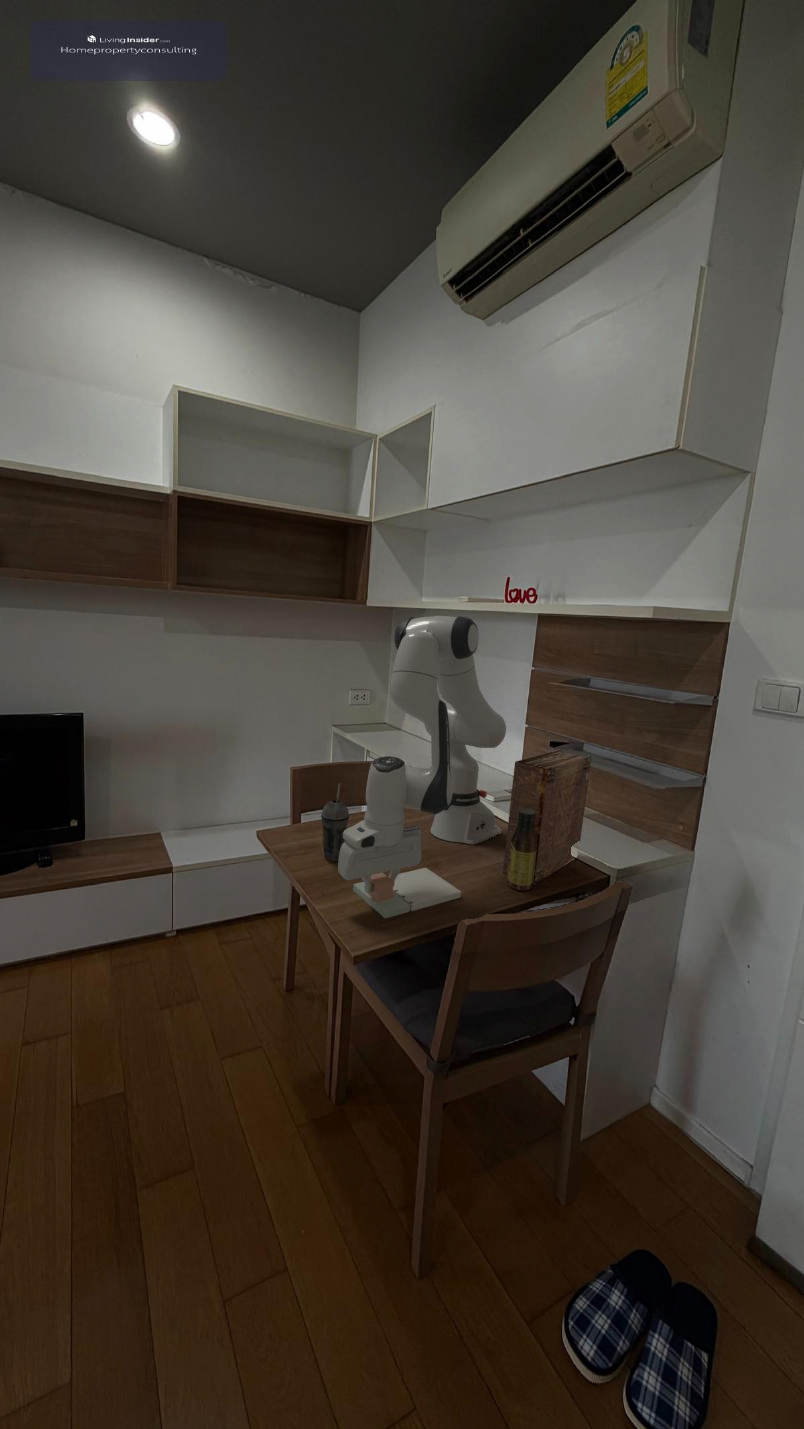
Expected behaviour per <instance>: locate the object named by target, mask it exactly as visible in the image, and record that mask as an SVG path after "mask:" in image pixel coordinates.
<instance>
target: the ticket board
mask: <svg viewBox="0 0 804 1429" xmlns="http://www.w3.org/2000/svg"><path fill="white" fill-rule="evenodd" d="M393 892H394V893H395V894H396V895H398V896H399V897H400V898H401V899H403V900H404V901H405V902H406V903H408V904H409V905H410V911H411V912H414V911H418V910H421V909H424V908H428V907H431V906H435V905H439V904H442V903H445V902H449V901H452V900H457V899H460V898H461V897H462V891H461V890H460V889H458V888H456V887H455V886H454V885H453V884H451V883H449V882H448V881H447V880H445V879H444V878H441V877H440V876H439V875H438V874H436V873H435V872H434V871H432V870H430V869H429V868H427V867H422V868H417V869H414V870H410V871H405V872H401V873H399V874H398V876H397V878H396V879H395V884H394V886H393Z"/></svg>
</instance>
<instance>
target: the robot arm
mask: <svg viewBox="0 0 804 1429" xmlns="http://www.w3.org/2000/svg"><path fill="white" fill-rule="evenodd" d="M398 623H399V624H398V625H397V626H396V628H395V631H394V638H393V639H394V646H395V648H396V650H397V651H396V654H395V659H394V662H393V667H392V671H391V678H390V686H389V687H390V689H389V690H390V697H391V700H392V701H393V703H394V705H396V706H397V708H399V709H400V710H401V711H402V712H404V713H406V714H408V715H409V716H410V717H412V718H414V719H416V720H418V721H420V722H421V723H423V724H424V729H425V730H426V732H427V733H428V734H429V736H430V740H431V741H430V744H431V745H430V746H431V748H430V749H431V752H430V753H431V767H429V768H423V767H417V766H408V765H407V764H406V763H405V761H404V760H403V759H402V758H399V757H397V756H389V755H387V756H386V755H385V756H380V757H377V758H375V759H374V760H372V762H371V763H370V766H369V771H368V777H367V782H366V790H365V803H366V810H365V812H364V818H363V820H361V821H359V822H358V823H356V824H354V825H352V826H350V827H347V828H346V830H345V831H344V832H343V838H344V843H343V844H342V846H341V849H340V853H339V861H337V862H338V863H337V871H338V874H339V875H340V876H341V877H342V878H343V879H344V880H346V881H352V880H355V879H360V878H361V880H362V882H364V883H365V887H364V889H365V891H366V892H367V893H369V892H373V891H374V884H372V883H371V882H369V880H368V879H371V875H374V874H378V873H386V872H390V873H389V874H388V876H387V877H389V878H390V879H391V880H393V881H394V884H395V879H396V878H397V876H398V874H401V873H400V872H401V869H404V868H409V867H413V866H417V865H418V864H419V863H420V862H421V861H422V840H421V839H422V829H421V828H420V826H417V825H416V824H412V825H408V826H405V814H404V808H406V809H411V810H416V811H417V810H418V811H421V812H424V813H427V814H431V815H434V818H433V821H432V825H431V827H430V829H429V831H430V833H431V835H433V836H434V837H436V838H438V839H441V840H444V841H448V842H453V843H464V844H468V845H477V844H479V843H482V842H484V841H487V840H489V838H490V839H492V838H491V837H493V838H494V836H495V835H498V834H500V833H502V834H503V831H502V829H501V828H500V826H498V825H496V819H495V818H496V817H495V814H494V812H493V811H492V809H490V808H489V807H488V806H486V804H485V803H483V802H482V801H481V798H483V799H485V798H486V797H487V796H488V792H487V791H485V790H482V789H480V790H479V789H478V780H479V764H478V762H477V761H476V759H475V758H474V757H473V756H472V755H471V754H470V753H469V751H468V749H467V747H466V746H469V747H475V748H479V749H495V748H497V747H499V745H500V744H502V742H503V741H504V739H505V737H506V734H507V725H506V721H505V720H504V718H503V716H502V715H500V714H499V713H498V712H497V711H495V710H494V709H493V708H492V707H491V705H489V703H488V701H487V700H486V698H485V697H484V695H483V693H482V692H481V688H480V687H479V682H478V677H477V671H476V664H475V659H474V653H476V651H477V649H478V645H479V639H480V638H479V636H480V634H479V629H478V626H477V624H476V623H475V622H474V621H473V619H472V618H469V617H466V616H452V615H451V616H450V615H434V616H423V617H417V618H416V616H415V617H414V616H413V617H408V618H404V619H402V620H401V621H400V622H398ZM439 695H440V696H439ZM440 697H441V698H442V699H443V700H444V701H445V702H444V701H443V700H441V698H440ZM480 797H481V798H480ZM500 835H501V834H500ZM498 836H499V835H498ZM495 837H496V836H495ZM394 884H393V886H394Z"/></svg>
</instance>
